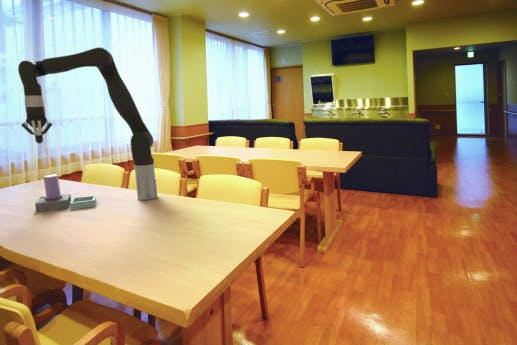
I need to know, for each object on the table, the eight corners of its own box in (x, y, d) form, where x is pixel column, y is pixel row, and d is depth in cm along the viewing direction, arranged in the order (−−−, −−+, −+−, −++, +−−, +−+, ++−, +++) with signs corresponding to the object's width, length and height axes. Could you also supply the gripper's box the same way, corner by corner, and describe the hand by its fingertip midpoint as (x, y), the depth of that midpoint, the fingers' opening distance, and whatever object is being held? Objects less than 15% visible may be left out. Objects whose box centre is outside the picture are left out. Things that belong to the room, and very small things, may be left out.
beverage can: (56, 208, 170) (51, 176, 167) (45, 208, 171) (40, 176, 168) (65, 204, 176) (60, 174, 173) (54, 204, 177) (50, 174, 174)
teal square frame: (96, 201, 181) (95, 195, 180) (95, 206, 171) (94, 200, 171) (73, 203, 177) (72, 197, 176) (70, 209, 167) (69, 203, 167)
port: (71, 201, 181) (70, 192, 181) (68, 208, 170) (67, 198, 169) (41, 205, 177) (40, 196, 176) (36, 212, 165) (34, 202, 164)
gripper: (52, 105, 175) (56, 141, 178) (20, 106, 170) (25, 143, 173) (49, 105, 168) (54, 143, 171) (16, 106, 163) (21, 144, 166)
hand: (39, 143), depth 172 cm, fingers closed
